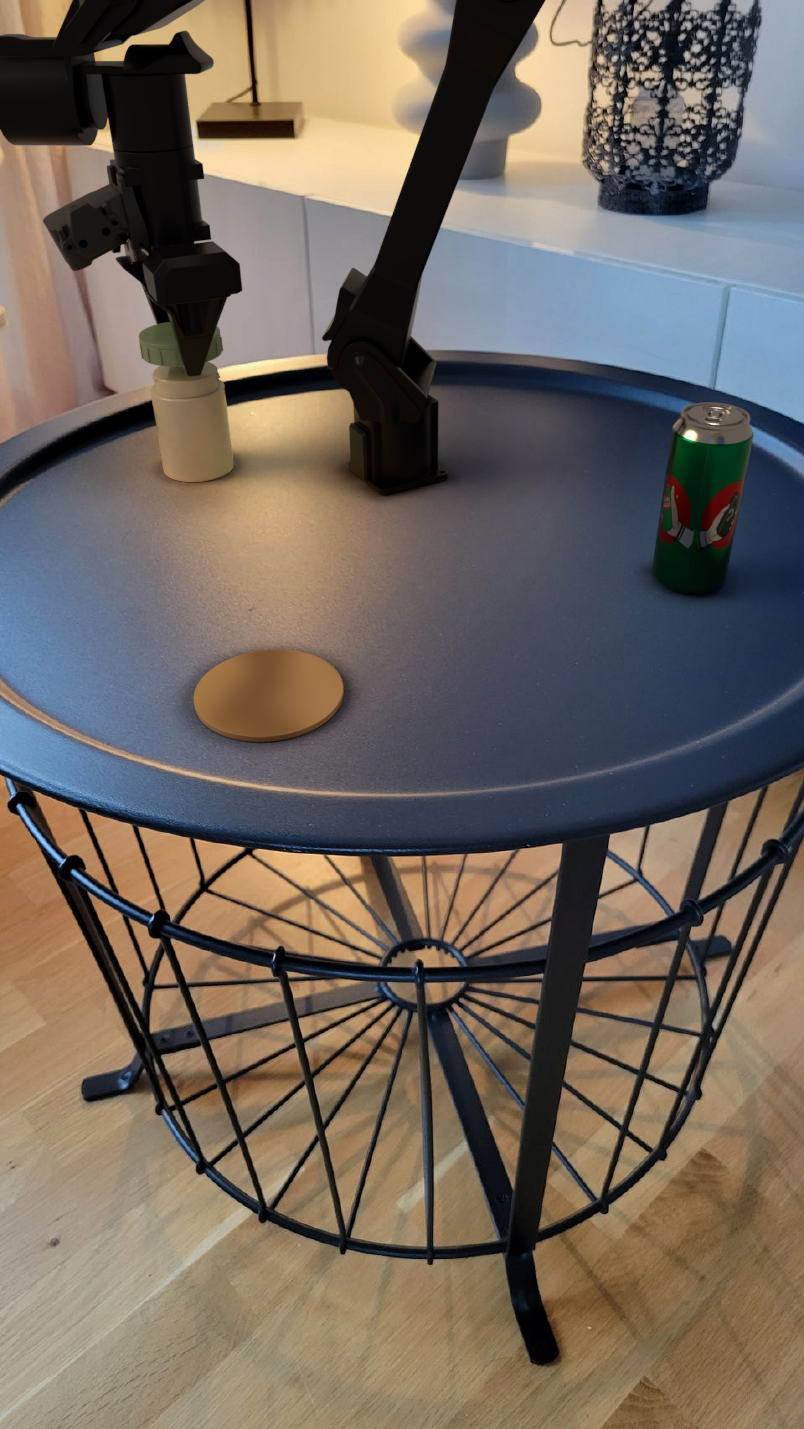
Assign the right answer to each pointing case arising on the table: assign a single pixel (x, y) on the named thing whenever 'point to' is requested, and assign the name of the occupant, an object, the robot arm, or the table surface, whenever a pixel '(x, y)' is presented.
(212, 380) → the jar
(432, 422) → the robot arm
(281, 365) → the table surface
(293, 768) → the table surface
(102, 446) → the table surface
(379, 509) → the table surface
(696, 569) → the soda can
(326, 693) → the coaster
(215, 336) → the lid
